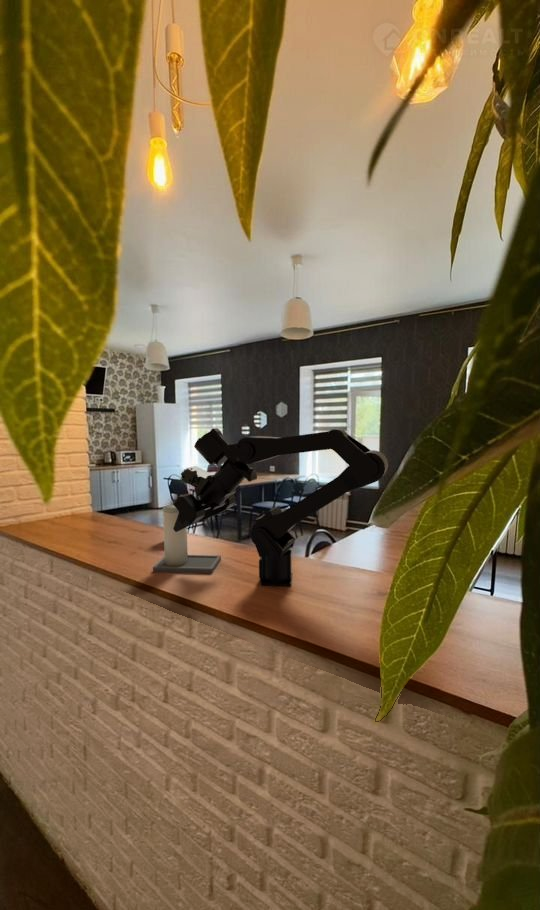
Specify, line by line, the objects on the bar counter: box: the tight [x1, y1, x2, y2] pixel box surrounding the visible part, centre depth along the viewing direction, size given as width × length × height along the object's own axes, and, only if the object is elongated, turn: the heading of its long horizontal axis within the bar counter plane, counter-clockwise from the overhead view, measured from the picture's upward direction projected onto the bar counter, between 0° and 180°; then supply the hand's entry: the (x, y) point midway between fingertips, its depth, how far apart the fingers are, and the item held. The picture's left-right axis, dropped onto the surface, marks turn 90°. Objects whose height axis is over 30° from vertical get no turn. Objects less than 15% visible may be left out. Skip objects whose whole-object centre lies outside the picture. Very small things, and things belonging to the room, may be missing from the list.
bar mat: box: [152, 554, 222, 574], centre depth 96 cm, size 14×9×1 cm, turn 84°
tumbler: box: [162, 504, 189, 566], centre depth 96 cm, size 6×6×14 cm
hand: (186, 525), depth 95 cm, fingers open, 9 cm apart
